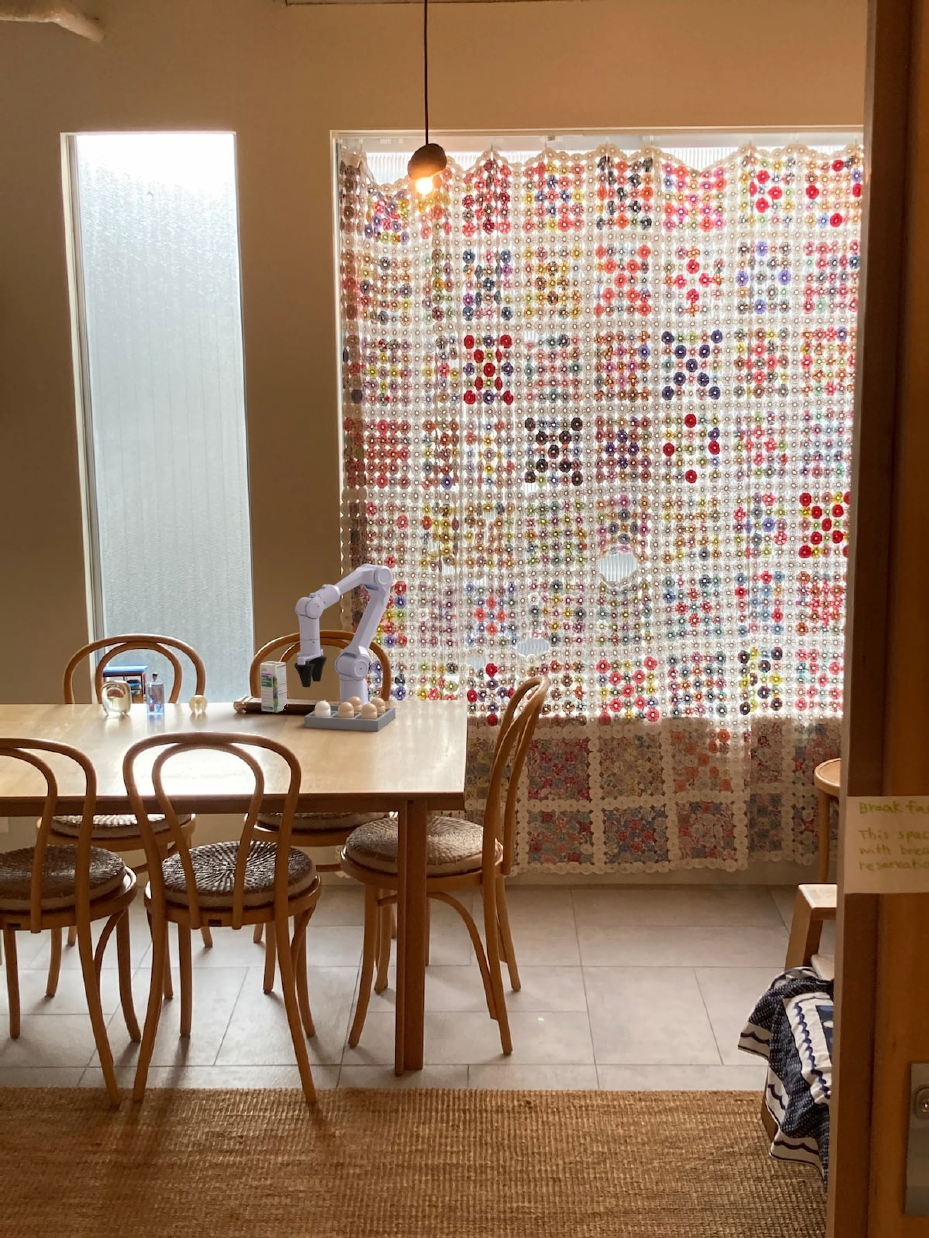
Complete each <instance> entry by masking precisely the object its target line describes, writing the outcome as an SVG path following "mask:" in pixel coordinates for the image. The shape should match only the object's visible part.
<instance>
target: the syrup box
mask: <svg viewBox="0 0 929 1238" xmlns="http://www.w3.org/2000/svg"><path fill="white" fill-rule="evenodd" d="M286 663H287V662H282V661H272V660H269V661H265V662H261V663H260V664H259V671H260V672H259V673H260V694H261V695H260V697H261V699H260V700H261V712H268V713H270V712H272V713H279V712H281V711H284V710H285V709H284V706H285V705H286V704H287V705H288V693H287V692H288V690H287V689H288V688H287V666H286ZM283 709H284V710H283Z"/></svg>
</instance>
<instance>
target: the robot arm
mask: <svg viewBox="0 0 929 1238" xmlns="http://www.w3.org/2000/svg"><path fill="white" fill-rule="evenodd" d="M394 579H395V578H394V576H393V572H392V570H391V569H390V568H389V566H387V565H377V564H371V563H363V564H362V565H360V566H358V567H356V569H355V570H354V571H352V572H351V573H350V574H348V575H347V576H346V577H344V578H343V579H341V580H340V581H338V582H337V583H335V584H325V583H324V584H322V586H321V588H320V589H319V590H316V591H315V592H311V593H309V595H308V597H305V596H304V597H301V598H299V599H298V601H297V602H296V603H295V604H296V606H295V607H294V611H295V614H296V615H297V617H298V618H297V619H298V622H299V645H300V646H299V647H300V652H297V653H296V656H298V657H297V662H295V663H294V668H295V669H296V671H297V673H298V675H299V679H300V681H301V686H302V687H303V688H311V683H312V682H318V683H320V682H321V680H322V674H323V671H324V666H325V664H326V661H327V660H328V658H327V656H323V655H324V649H323V648H321V640H320V639H321V638H320V637H321V636H320V617H321V616H322V614H323V612H324V610H326V609H328V608H330V607H331V606H333V605H334V604H335V603H338V602H339V601H340V597H341V596H342V595H344V594H345V593H347V592H349V591H351V590H353V589H354V588H356V587H358V586H360V585H362V586H363V587H364V588H365V590H366V591H367V593H368V595H369V600H368V602H367V605H366V607H365V610H364V612H363V614H362V617H361V619H360V621H359V623H358V626H357V628H356V630H355V633H354V635H353V638H352V640H351V641H350V644H349V645H348V646H346V647H344V648H343V650H342V651H341V653H340V655H338V656H337V658H336V659H335V662H334V670H335V672H336V673H337V674H338V677H339V690H340V691H339V695H340V704H341V703H343V702H347V701H348V699H349V698H351V697H353V696H356V697H359V698H360V699H361V701H362V706H364V705H365V704H367V703H370V702H371V701H369V694H368V693H369V690H368V689H369V688H368V682H367V679H366V676H367V675H368V672H369V665H370V664H369V663H370V661H371V656H370V655H369V652H368V651H369V648H370V646H371V643H372V641H373V639H374V636H375V634H376V632H377V629H378V627H379V625H380V622H381V620H382V618H383V616H384V613H385V610H386V608H387V605H388V603H389V601H390V597H391V586H392V583H393V581H394Z"/></svg>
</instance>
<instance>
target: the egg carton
mask: <svg viewBox="0 0 929 1238" xmlns="http://www.w3.org/2000/svg"><path fill="white" fill-rule="evenodd" d="M369 702H370V703H367V704H365V705H364V706H362V701H361V699H360V698H359V697H356V696H353V697H351V698H349V699H348V701H347V702H343V703H341V702H340V704H329V705H330V712H331V716H330V717H318V716H315V709H314V710H313V711H312V712H310V713H308V714H306V715H305V716H304V727H305V728H315V729H316V728H318V729H332V730H333V729H334V730H350V731H366V732H367V731H371V732H379V731H381V730H382V729H383V728H385V726H387V725H388V724H389V723H391V722H392V721H394V720H395V719H396V707H386V701H385V700H384V699H383V698H381V697H374V698H372V699H371V701H369Z"/></svg>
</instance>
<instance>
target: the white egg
mask: <svg viewBox="0 0 929 1238" xmlns="http://www.w3.org/2000/svg"><path fill="white" fill-rule="evenodd" d="M330 705H331V704H330V703H328V702H327V701H325V700H321V701H318V702H317V703H316V704H315V707H314V710H315V716H318V717H330V716H331V712H330Z"/></svg>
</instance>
